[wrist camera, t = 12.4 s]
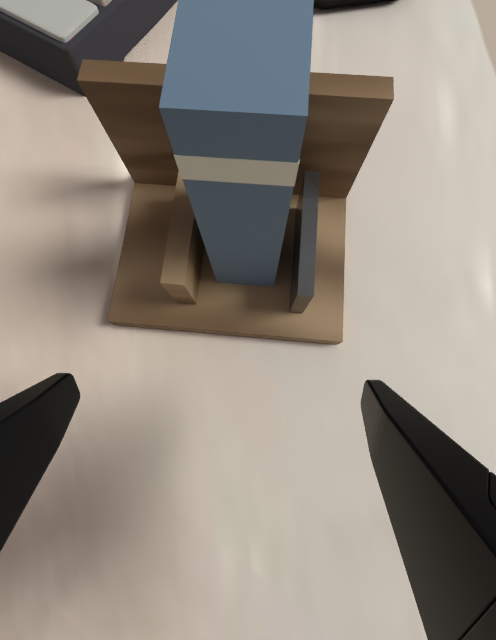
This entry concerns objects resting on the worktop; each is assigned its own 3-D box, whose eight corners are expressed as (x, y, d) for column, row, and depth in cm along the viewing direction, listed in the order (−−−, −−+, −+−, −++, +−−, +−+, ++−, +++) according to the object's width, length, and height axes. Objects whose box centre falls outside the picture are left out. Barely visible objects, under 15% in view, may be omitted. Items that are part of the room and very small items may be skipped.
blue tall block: (274, 287, 19) (308, 116, 7) (216, 282, 19) (157, 108, 7) (278, 227, 20) (315, -11, 8) (223, 223, 20) (180, -17, 8)
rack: (337, 344, 19) (396, 311, 11) (114, 324, 20) (22, 280, 12) (342, 187, 21) (393, 71, 14) (144, 173, 22) (83, 54, 14)
